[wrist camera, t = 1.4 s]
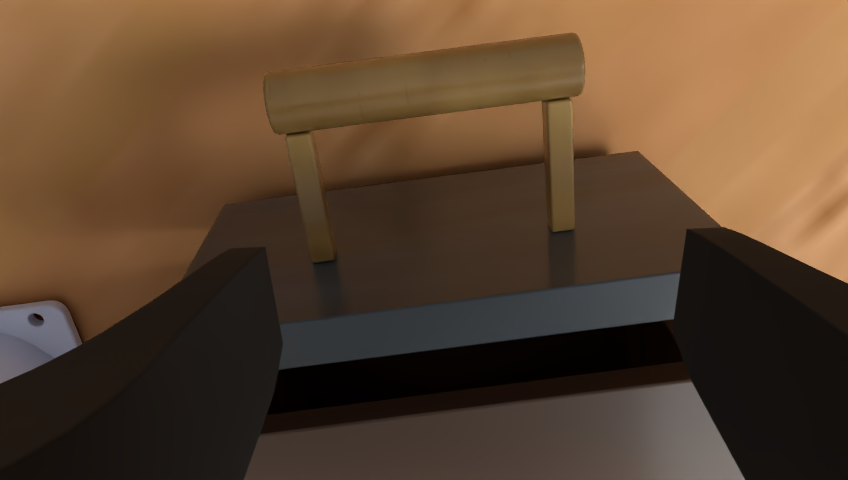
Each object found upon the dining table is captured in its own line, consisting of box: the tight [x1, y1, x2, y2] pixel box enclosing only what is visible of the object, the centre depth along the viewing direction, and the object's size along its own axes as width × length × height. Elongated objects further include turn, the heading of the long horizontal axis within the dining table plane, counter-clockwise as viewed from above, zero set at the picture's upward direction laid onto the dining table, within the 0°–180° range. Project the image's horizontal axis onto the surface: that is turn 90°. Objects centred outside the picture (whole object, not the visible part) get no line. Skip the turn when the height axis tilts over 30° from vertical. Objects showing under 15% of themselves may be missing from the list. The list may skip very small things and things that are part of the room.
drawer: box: [182, 33, 721, 415], centre depth 20 cm, size 18×13×8 cm
